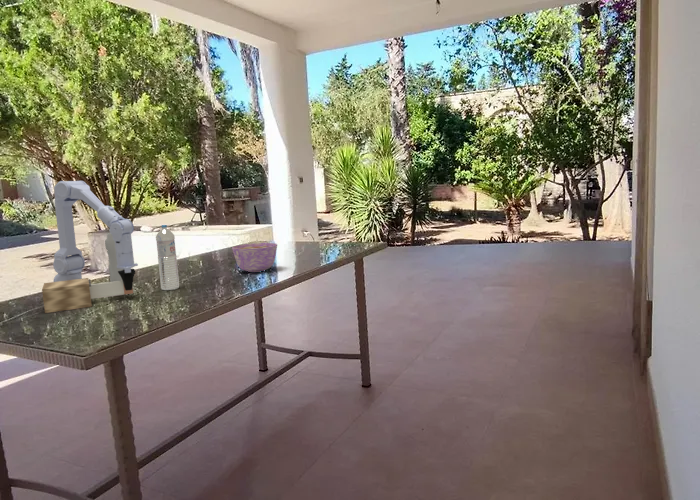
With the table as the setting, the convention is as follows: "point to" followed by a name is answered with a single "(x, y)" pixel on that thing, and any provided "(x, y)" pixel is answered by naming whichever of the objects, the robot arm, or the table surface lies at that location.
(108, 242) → the tall pale column
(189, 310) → the table surface
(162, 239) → the water bottle
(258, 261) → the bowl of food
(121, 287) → the ticket
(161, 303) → the table surface
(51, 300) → the ticket box
